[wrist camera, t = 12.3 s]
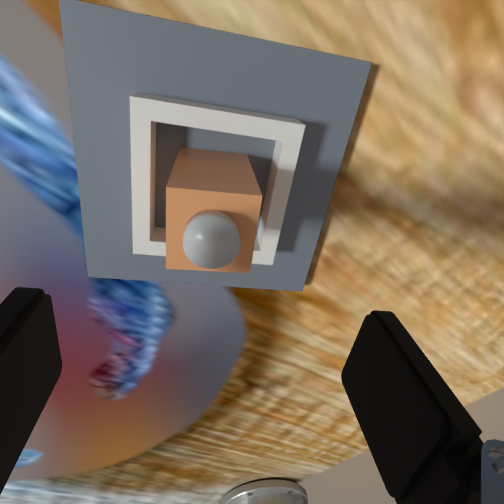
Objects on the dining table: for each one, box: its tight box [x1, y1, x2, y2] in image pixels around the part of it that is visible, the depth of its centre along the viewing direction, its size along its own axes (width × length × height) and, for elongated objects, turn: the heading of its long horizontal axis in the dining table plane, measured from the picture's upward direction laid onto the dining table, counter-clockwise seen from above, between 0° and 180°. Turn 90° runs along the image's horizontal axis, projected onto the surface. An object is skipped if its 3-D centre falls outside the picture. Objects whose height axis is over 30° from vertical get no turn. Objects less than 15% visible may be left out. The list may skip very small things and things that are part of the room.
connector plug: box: [166, 147, 262, 273], centre depth 17 cm, size 4×4×8 cm
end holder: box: [59, 0, 372, 291], centre depth 20 cm, size 16×16×3 cm
